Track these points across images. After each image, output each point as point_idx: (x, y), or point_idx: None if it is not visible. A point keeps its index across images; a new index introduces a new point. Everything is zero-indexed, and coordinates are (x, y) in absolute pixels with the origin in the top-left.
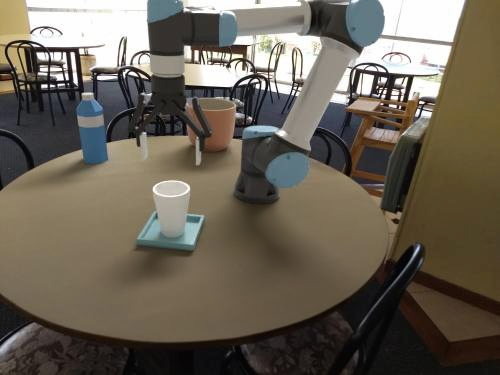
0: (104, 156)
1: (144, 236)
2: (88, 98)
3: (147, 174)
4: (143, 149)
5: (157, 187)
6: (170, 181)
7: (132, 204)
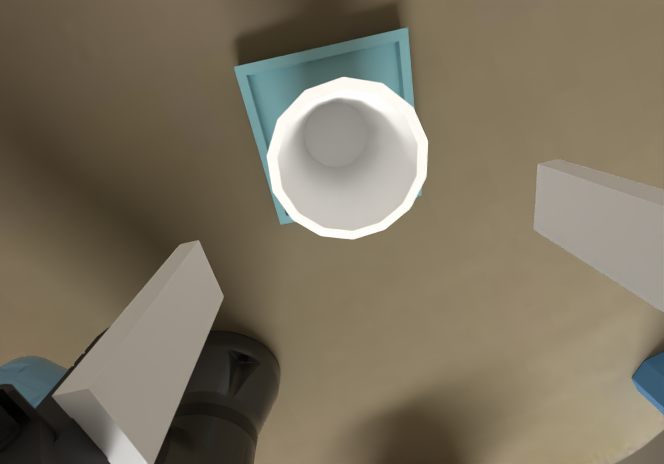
0: (650, 381)
1: (398, 74)
2: None
3: (512, 355)
4: (611, 187)
5: (413, 163)
6: (380, 222)
7: (497, 220)
